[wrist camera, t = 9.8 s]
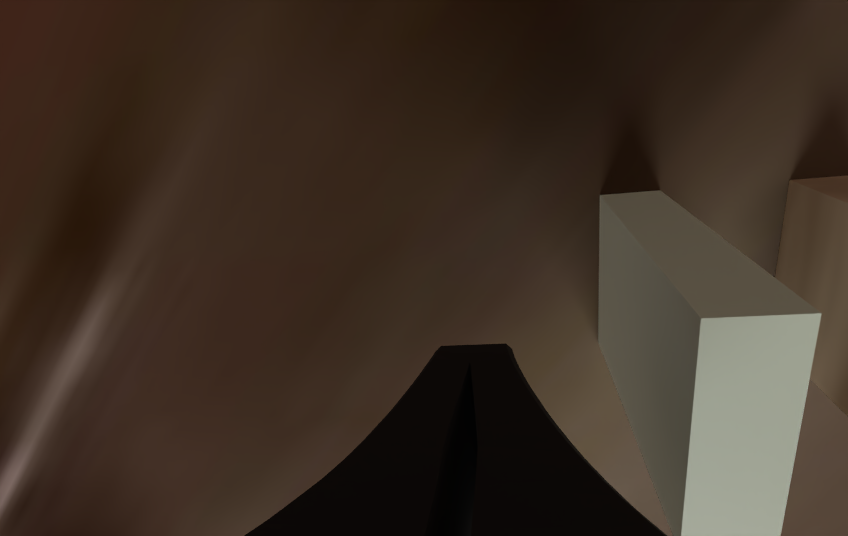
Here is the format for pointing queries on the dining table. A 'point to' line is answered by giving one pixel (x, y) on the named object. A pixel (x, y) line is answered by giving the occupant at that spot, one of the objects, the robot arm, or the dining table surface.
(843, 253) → the maple domino
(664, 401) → the sage domino
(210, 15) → the dining table surface
